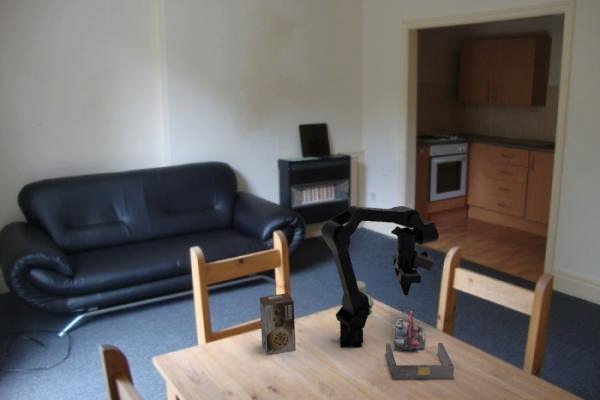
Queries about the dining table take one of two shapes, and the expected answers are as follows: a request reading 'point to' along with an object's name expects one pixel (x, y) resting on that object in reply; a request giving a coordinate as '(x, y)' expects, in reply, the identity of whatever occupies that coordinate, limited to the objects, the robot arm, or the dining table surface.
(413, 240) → the robot arm
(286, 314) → the coffee box
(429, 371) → the receiver
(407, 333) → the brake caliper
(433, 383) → the dining table surface
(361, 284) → the air freshener
